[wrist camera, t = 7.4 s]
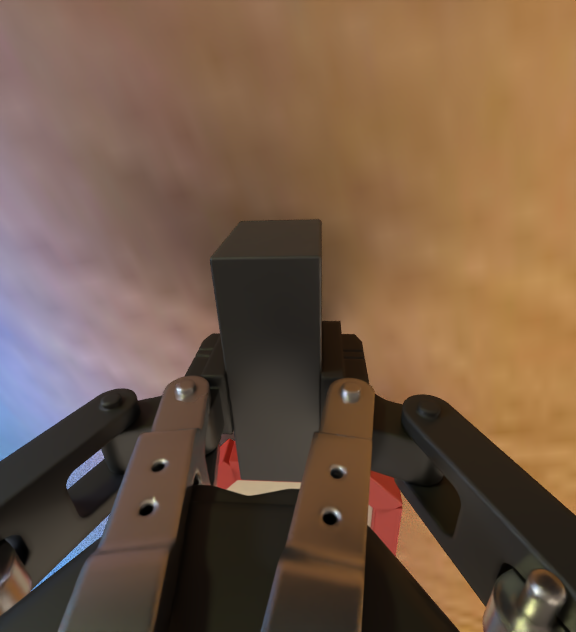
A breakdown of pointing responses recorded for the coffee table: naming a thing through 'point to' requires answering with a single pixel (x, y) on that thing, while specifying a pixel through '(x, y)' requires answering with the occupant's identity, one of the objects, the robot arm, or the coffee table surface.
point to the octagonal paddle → (278, 362)
